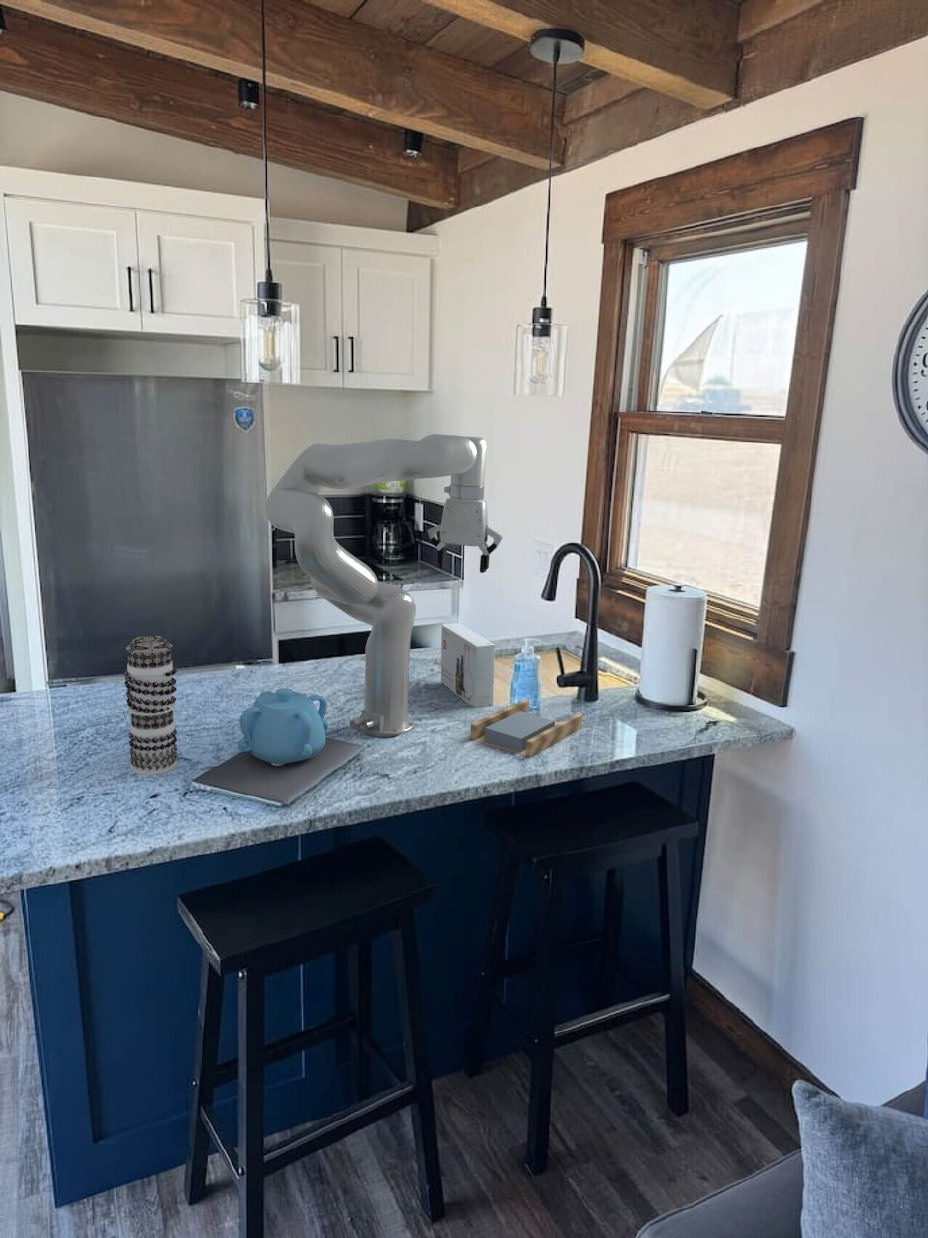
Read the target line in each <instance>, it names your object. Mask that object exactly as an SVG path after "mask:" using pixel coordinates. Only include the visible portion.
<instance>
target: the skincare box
mask: <svg viewBox="0 0 928 1238" xmlns="http://www.w3.org/2000/svg"><path fill="white" fill-rule="evenodd" d="M440 631H441V634H440V635H441V638H440V640H441V641H440V642H441V643H440V646H441V648H440V649H441V650H440V683H441V684H442V683H443V684H444V685H445V687H446V686H447V687H448V688H449V689H450V690H449V689H448V688H447V687H446V688H447V689H448V690H449V691H451V692H452V691H453V692H454V693H453V692H452V693H453V694H455V696H457V697H458V696H459V698H460V699H461V700H462V701H463V702H465V703H466V704H467V703H468V704H467V705H468V706H473V707H474V708H483V707H484V708H485V707H492V706H494V684H495V647H496V646H495V643H492V642H491V641H490V640H488V639H486V638H485V637H482V636H481V635H480V634H478V633H476V632H474V631H473V630H471V629H469V628H467V627H466V626H464V625H462V623H461V624H460V623H459V622H454V623H446V624H445V623H444V624H441V630H440ZM443 684H442V685H443ZM444 685H443V686H444Z"/></svg>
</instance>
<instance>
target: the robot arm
mask: <svg viewBox="0 0 928 1238" xmlns="http://www.w3.org/2000/svg"><path fill="white" fill-rule="evenodd" d="M487 445H488V443H487V441H486V439H484V438H482V437H478V436H464V435H455V434H454V435H453V434H452V435H450V434H442V433H441V434H439V433H433V434H432V433H431V434H428V435H426V436H424V437H422V438H421V439H420V440H411V439H410V440H409V439H401V438H400V439H399V438H384V439H378V440H377V439H376V440H370V441H362V442H354V443H353V442H351V443H345V444H331V443H330V444H327V443H317V442H316V443H313V444H311V445H310V446H308V447H307V448H305V449H303V451H302V452H300V454H299V455H298V456H297V458H295V460H294V461H293V462H292V464H291V465H290V466H289V467H288V469H287V470H286V471H285V473H284V474H283V475H282V477H281V478H280V479H279V480H278V482H277V483H276V484H275V485H274V487H273V488H272V490H271V491H270V493H269V495H268V497H267V499H266V502H265V504H264V505H265V507H264V512H265V516H266V519H267V520H268V522H269V523H270V524H271V525H272V526H273V527H274V528H276V529H278V530H281V531H284V532H288V533H291V534H294V549H295V550H294V551H295V556H296V557H295V558H296V561H297V564H298V566H299V568H301V570H303V572H304V573H305V574H306V575H308V576H309V577H310V583H311V585H312V587H313V590H314V591H315V592H316V593H317V594H318V595H319V596H320V597H321V598H323V599H324V600H326V601H327V602H328V603H330V604H331V605H333V606H334V607H336V608H337V609H339V610H340V611H342V612H343V613H345V614H346V615H348V616H349V617H351V618H353V619H354V620H357V621H359V622H361V623H364V624H367V625H369V626H371V631H370V633H369V636H368V638H367V640H366V645H365V650H364V651H365V656H364V658H365V659H364V660H365V663H364V665H365V667H364V668H365V669H364V708H363V709H361V715H359V716H358V717H355V718H353V719H351V720H349V726H350V728H351V729H353V730H354V729H357V730H359V731H360V732H361V733H364V734H365V735H369V736H374V737H381V738H390V737H398V736H401V735H404V734H405V735H406V734H408V733H409V732H411V731H413V730H414V729H415V721H414V719H413V718H412V717H410V716H408V715H409V693H410V691H409V688H410V687H409V686H410V661H411V660H410V659H411V656H410V651H411V640H412V639H411V638H412V631H413V629H414V623H415V619H416V613H417V609H416V602H415V600H414V599H413V597H412V595H411V594H410V593H409V592H408V591H406V590H404V589H403V588H401V587H399V586H395V585H392V584H390V583H385V582H381V581H379V580H378V578H377V575H376V573H375V572H374V571H373V570H372V568H371V567H370V566H368V565H367V564H366V563H365V562H363V561H361V560H360V559H359V558H357V557H355V556H354V555H353V554H351V553H350V552H349V551H347V550H346V549H345V548H344V547H343V546H341V545H340V544H339V543H338V542H337V541H336V538H335V536H334V535H335V534H334V524H335V523H334V522H335V521H334V520H335V519H334V512H333V511H334V510H333V509H332V506H331V504H330V503H329V501H328V500H327V499H326V498H325V497H324V496H322V495H320V494H319V493H320V492H321V491H322V489H323V488H330V489H335V490H345V489H353V488H360V487H363V486H372V485H376V484H384V483H390V482H405V481H412V480H414V481H415V480H419V479H420V480H421V479H432V478H433V479H434V478H441V477H442V478H443V477H449V476H450V484H449V486H444V489H443V492H444V493H446V494H448V497H449V498H445V501H444V504H443V505H444V506H443V510H442V517H441V523H440V524H438V525H436V526H434V527H431V528H428V529H427V534H428V537H429V539H430V542H431V543H432V545H433V546H434V547H435V550H436V551H437V564H438V568H439V569H444V568H446V567H447V561H448V559H447V556H448V550H447V549H446V548H447V546H449V545H455V546H464V547H466V546H467V547H478V548H479V550H480V551H481V553H482V554H481V555H480V561H479V573H481V574H484V573H485V572H487V570H488V569H489V568H490V567H489V566H490V557H491V556H490V555H491V554H492V553H493V552H495V550H496V549H498V547H499V545H500V543H501V542H502V540H503V535H501V534H500V533H498V532H497V531H495V530H494V529H492V528H491V527H489V517H488V516H489V513H488V506H487V500H484V499H485V498H484V497H485V481H486V465H487V463H486V462H487V449H488V448H487ZM437 532H440V533H439V534H440V535H439V536H440V538H439V537H437V536H438V535H437ZM489 537H490V538H492V539H493V542H492V543H491V544H490V545H489V544H488V543H487V542H488V538H489Z"/></svg>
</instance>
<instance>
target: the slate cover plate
mask: <svg viewBox="0 0 928 1238" xmlns="http://www.w3.org/2000/svg"><path fill="white" fill-rule="evenodd" d="M555 721H556V720H554V719H550V718H546V717H543V716H539V715H535V714H532V713H530V712H529V713H525V712H522V711H519V712H517V713H515V714H513V715H511V716H509V717H507V718H505V719H503V720H500V721H498V722H496V723H494V724H492V725H490V726H488V727H486V728H485V740H484V741H486V742H489V743H492V744H496V745H499V746H502V747H505V748H508V749H512V750H515V751H518V752H522V751H524V750H525V749H526V741H527V740H529V739H531V738H533V737H534V736H536V735H538V734H540V733H542V732H544V731H546V730H547V729H549V728H551V727H553V726H555Z"/></svg>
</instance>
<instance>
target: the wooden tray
mask: <svg viewBox="0 0 928 1238" xmlns="http://www.w3.org/2000/svg"><path fill="white" fill-rule="evenodd" d="M519 711H522V712H525V713H529V714H530V712H529V711H530V700H529V699H522V700H521V701H518V702H515V703H514V704H511V705H510V706H507V707H505V708H503V709H501V710H499V711H497V712H494V713H493V714H490V715H488V716H486V717H484V718H481V719H479V720H477V721H474V722H473V723H471V724H470V733H469V734H470V738H469V740H472V741H475V742H478V743H482V744H485V745H488V746H492V747H495V748H498V749H501V750H504V751H507V752H512V753H513V754H514V753H515V754H517V755H520V756H524V757H527V758H533V757H534V756H536V755H538V754H539V753H541V752H543V751H545V750H547V749H548V748H550V747H552V746H554V745H555V744H557V743H559V742H561V741H562V740H564V739H566V738H568V737H569V736H572V735H573V734H575V733H576V732H578V731H579V730H581V729H582V724H583V723H582V722H583V714H582V713H578V712H577V713H576V714H574V715H572V716H570V717H568V718H566V719H565V720H563V721H556V720H554V721H555V726H553V727H551V728H549V729H547V730H546V731H544V732H542V733H540V734H538V735H536V736H534V737H533V738H531V739H529V740H527V741H526V749H525V750H524V751H522V752H518V751H515V750H512V749H508V748H505V747H502V746H499V745H496V744H492V743H489V742H486V741H484V740H485V728H486V727H488V726H490V725H492V724H494V723H496V722H498V721H500V720H503V719H505V718H507V717H509V716H511V715H513V714H515V713H517V712H519Z"/></svg>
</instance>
